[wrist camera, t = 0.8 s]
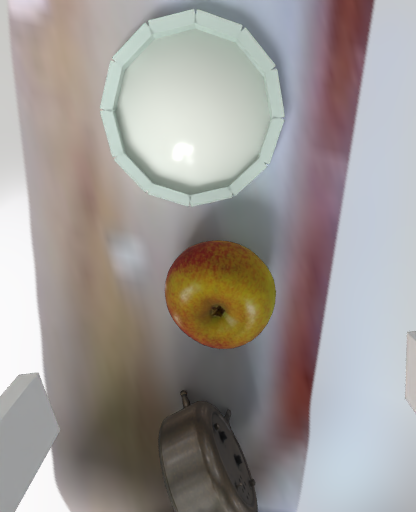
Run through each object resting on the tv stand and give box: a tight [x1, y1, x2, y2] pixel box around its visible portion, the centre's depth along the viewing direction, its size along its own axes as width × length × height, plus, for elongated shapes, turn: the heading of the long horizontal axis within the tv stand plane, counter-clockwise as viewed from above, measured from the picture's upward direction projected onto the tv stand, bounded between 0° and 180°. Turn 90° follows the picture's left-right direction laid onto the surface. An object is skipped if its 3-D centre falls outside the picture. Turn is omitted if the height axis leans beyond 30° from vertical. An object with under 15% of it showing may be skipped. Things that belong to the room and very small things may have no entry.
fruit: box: [165, 241, 276, 349], centre depth 30 cm, size 10×9×8 cm
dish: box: [100, 9, 285, 207], centre depth 29 cm, size 15×15×2 cm
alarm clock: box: [158, 390, 258, 512], centre depth 29 cm, size 11×5×16 cm, turn 29°
